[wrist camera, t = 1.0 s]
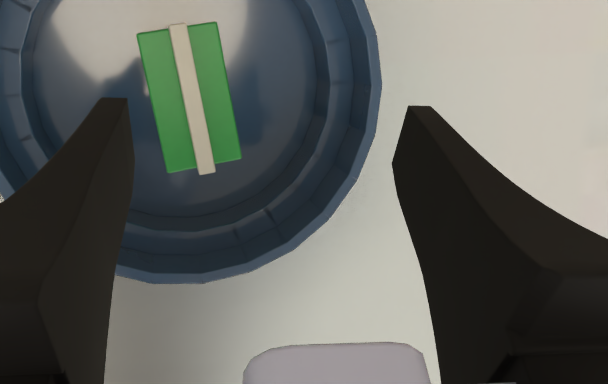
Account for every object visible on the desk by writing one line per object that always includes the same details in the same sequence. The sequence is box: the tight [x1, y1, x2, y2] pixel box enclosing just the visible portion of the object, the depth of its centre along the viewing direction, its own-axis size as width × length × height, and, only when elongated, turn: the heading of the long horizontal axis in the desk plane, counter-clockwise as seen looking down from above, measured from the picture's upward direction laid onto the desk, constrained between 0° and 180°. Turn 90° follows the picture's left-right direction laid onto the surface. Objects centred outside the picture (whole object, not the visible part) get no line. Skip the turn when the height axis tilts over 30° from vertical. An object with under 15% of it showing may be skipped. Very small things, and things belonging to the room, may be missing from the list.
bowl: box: [0, 0, 382, 284], centre depth 25 cm, size 16×16×5 cm
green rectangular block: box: [136, 21, 242, 175], centre depth 23 cm, size 3×5×7 cm, turn 9°
